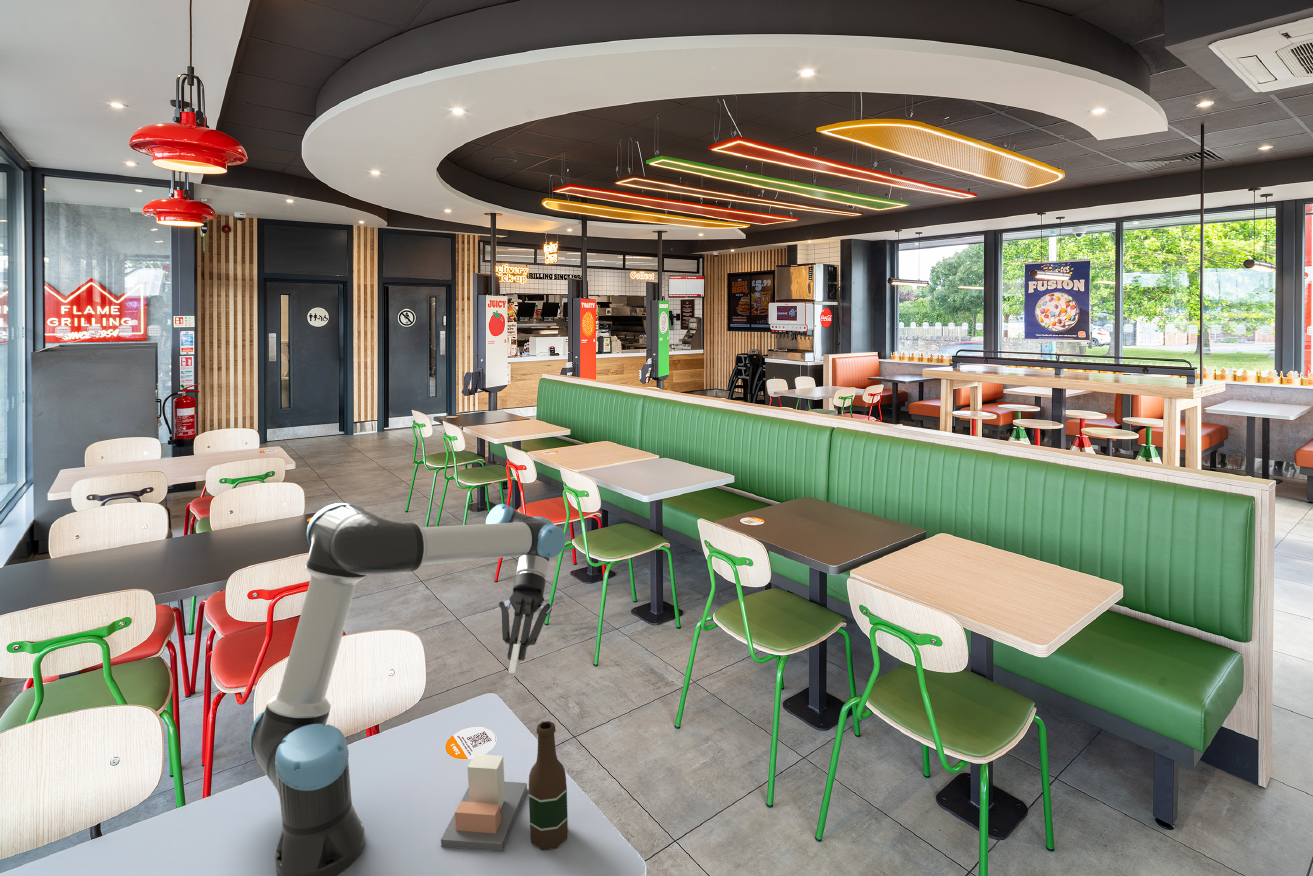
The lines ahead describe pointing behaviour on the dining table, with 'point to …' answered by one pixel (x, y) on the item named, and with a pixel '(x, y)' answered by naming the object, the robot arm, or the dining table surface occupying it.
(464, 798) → the base
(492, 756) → the cream tall block
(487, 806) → the peach rectangular block
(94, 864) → the dining table surface
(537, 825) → the beer bottle
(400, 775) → the dining table surface
